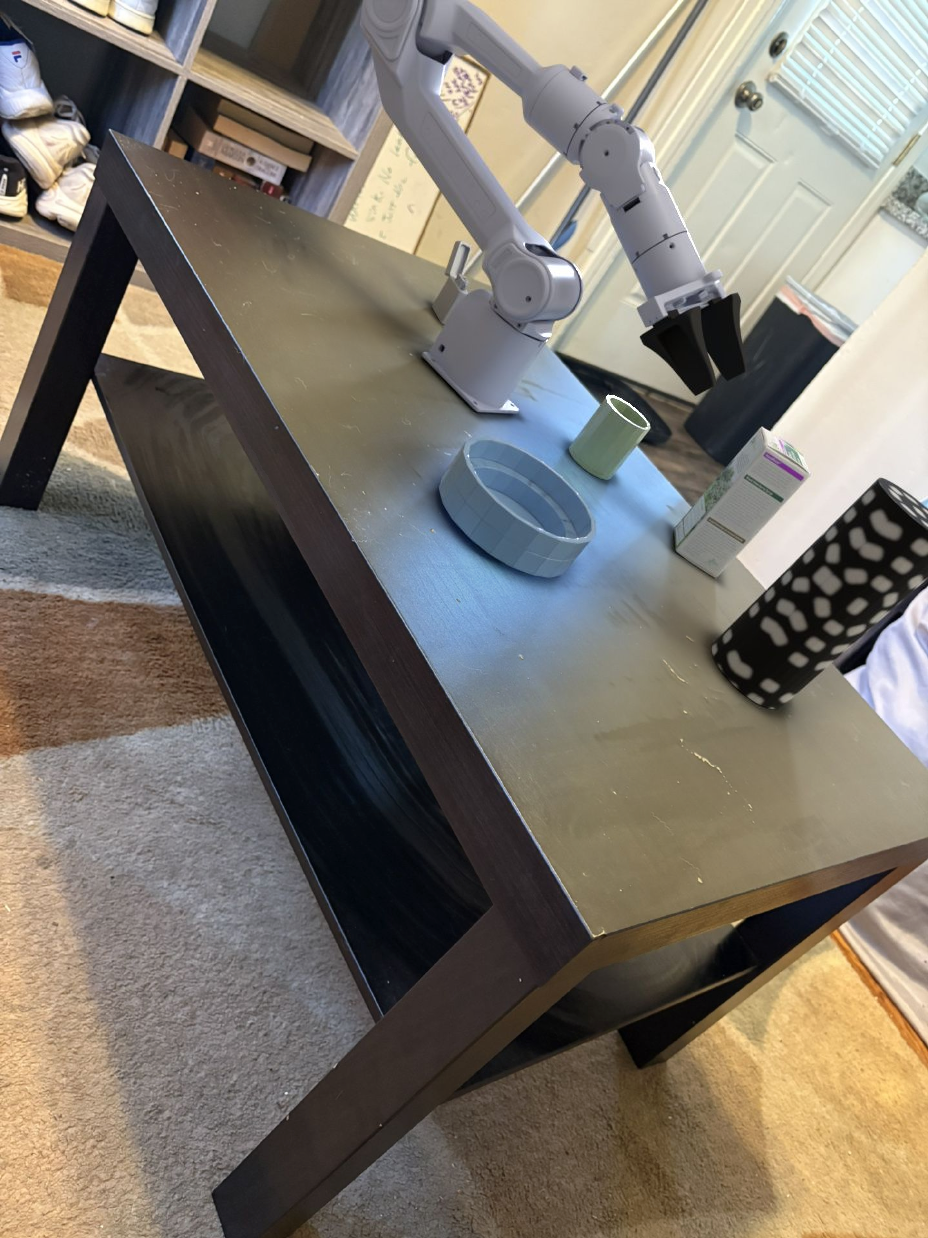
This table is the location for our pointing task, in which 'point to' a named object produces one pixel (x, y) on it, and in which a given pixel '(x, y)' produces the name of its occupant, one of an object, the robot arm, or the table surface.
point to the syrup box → (740, 502)
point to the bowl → (516, 507)
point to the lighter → (453, 282)
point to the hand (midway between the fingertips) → (722, 383)
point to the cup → (609, 437)
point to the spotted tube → (828, 596)
